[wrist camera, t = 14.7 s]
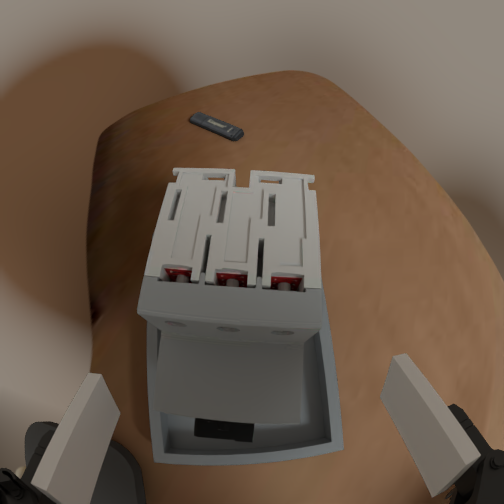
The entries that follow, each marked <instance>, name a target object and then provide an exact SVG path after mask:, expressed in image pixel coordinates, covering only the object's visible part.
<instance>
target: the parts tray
mask: <svg viewBox="0 0 504 504" xmlns="http://www.w3.org/2000/svg"><path fill="white" fill-rule="evenodd" d="M153 236H154V234H153ZM152 240H153V237H152ZM321 292H322V328H321V329H320V330H319V331H318V332H317V333H315V334H314V335H313V336H312V337H310V338H309V339H308V340H307V341H305V342H304V352H303V379H302V399H301V415H300V424H255V425H254V435H253V442H237V441H235V440H226V439H214V438H202V437H196V436H194V423H195V418H190V417H184V416H178V415H172V414H167V413H164V412H161V411H156V410H153V402H154V391H155V380H156V371H157V362H158V354H159V346H160V339H161V330H159V329H158V328H157V327H155V326H154V325H152V324H151V323H150V322H148V321H147V384H148V404H149V418H150V430H151V440H152V449H153V457H154V462H157V463H167V464H181V465H244V464H258V463H269V462H278V461H286V460H293V459H299V458H305V457H311V456H316V455H321V454H326V453H331V452H335V451H339V450H344V447H343V433H342V422H341V411H340V401H339V392H338V383H337V375H336V367H335V359H334V352H333V345H332V338H331V332H330V325H329V319H328V313H327V307H326V301H325V295H324V290H323V284H322V279H321Z"/></svg>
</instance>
